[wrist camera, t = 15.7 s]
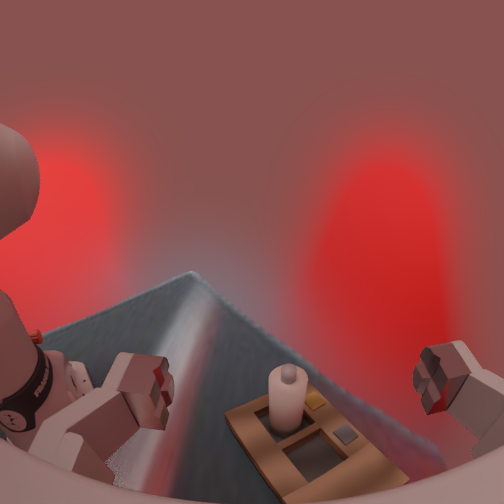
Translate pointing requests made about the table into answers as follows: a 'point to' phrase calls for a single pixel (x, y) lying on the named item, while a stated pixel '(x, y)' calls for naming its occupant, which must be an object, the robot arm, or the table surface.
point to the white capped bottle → (286, 399)
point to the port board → (312, 453)
